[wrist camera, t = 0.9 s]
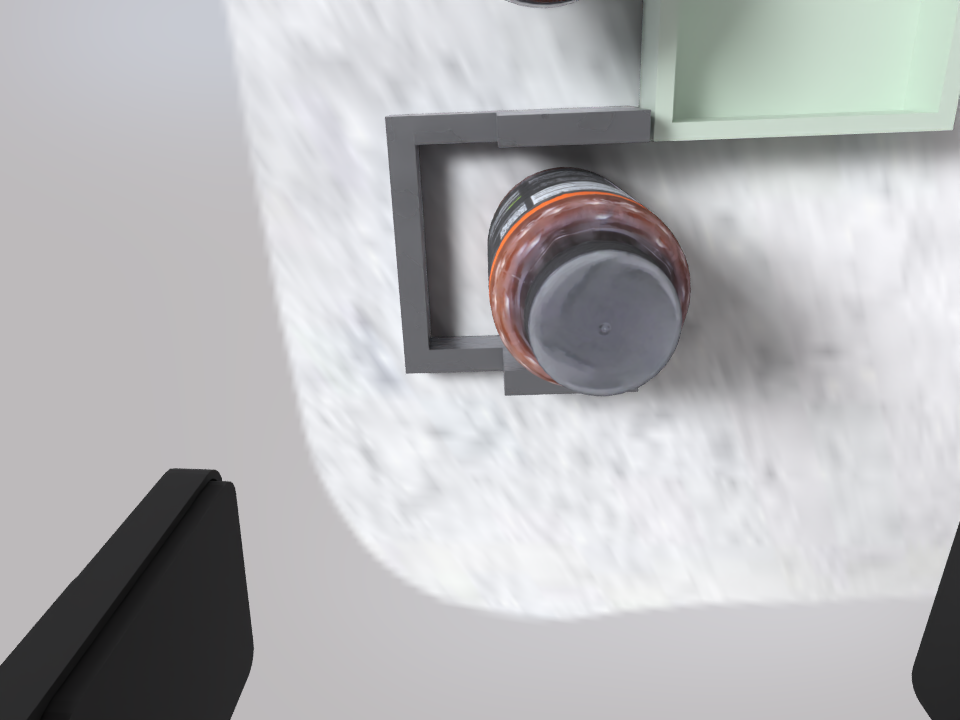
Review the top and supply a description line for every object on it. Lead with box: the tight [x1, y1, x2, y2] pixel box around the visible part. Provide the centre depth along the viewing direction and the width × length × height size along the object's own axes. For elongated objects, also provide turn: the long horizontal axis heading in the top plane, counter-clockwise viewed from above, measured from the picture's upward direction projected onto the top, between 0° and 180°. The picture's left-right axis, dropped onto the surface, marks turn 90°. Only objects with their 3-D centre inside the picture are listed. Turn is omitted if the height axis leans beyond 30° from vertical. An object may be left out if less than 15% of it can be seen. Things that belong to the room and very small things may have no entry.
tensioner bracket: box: [385, 106, 651, 396], centre depth 27 cm, size 9×10×4 cm
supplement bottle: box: [488, 167, 691, 396], centre depth 23 cm, size 6×6×11 cm
